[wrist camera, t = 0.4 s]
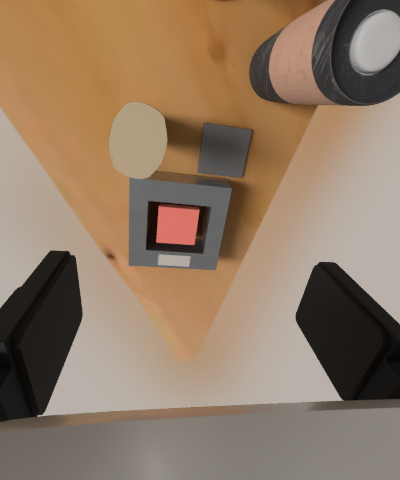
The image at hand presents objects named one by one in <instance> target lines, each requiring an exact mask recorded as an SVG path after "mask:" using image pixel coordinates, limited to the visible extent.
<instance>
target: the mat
mask: <svg viewBox="0 0 400 480" xmlns="http://www.w3.org/2000/svg"><path fill="white" fill-rule="evenodd" d="M251 133H252V130H250V129H243V128H236V127H230V126H223V125H216V124H209V123H204V128H203V135H202V143H201V150H200V158H199V165H198V173H203V174H212V175H220V176H229V177H238V178H242V175H243V171H244V166H245V161H246V157H247V152H248V147H249V143H250V138H251Z"/></svg>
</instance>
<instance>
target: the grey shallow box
mask: <svg viewBox="0 0 400 480" xmlns="http://www.w3.org/2000/svg"><path fill="white" fill-rule="evenodd" d="M231 191H232V187H231V186H230V185H229V183H228V182H227V180H226V179H224V178H215V177H206V176H197V175H188V174H179V173H170V172H161V171H154V173H153V174H152V175H151V176H150V177H149V178H145V179H135V178H130V195H129V265H131V266H149V267H168V268H186V269H205V270H216V266H217V261H218V256H219V251H220V246H221V241H222V236H223V231H224V226H225V221H226V216H227V211H228V206H229V201H230V196H231ZM150 201H156V202H166V203H177V204H188V205H199V206H205V211H204V217H203V224H202V230H201V237H200V239H196V238H195V245H185V244H170V243H156V239H157V236H155V235H148V227H149V206H150Z"/></svg>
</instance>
